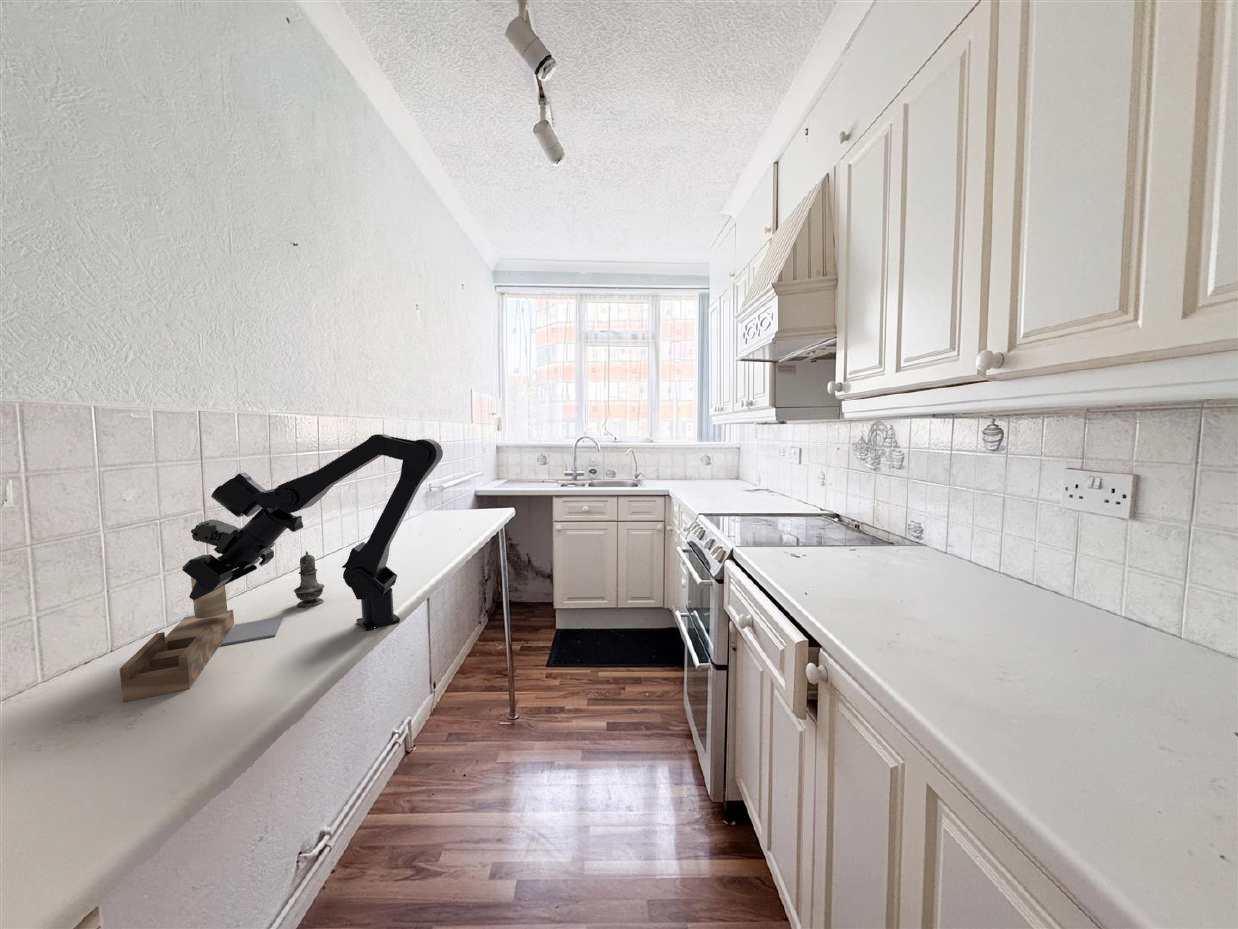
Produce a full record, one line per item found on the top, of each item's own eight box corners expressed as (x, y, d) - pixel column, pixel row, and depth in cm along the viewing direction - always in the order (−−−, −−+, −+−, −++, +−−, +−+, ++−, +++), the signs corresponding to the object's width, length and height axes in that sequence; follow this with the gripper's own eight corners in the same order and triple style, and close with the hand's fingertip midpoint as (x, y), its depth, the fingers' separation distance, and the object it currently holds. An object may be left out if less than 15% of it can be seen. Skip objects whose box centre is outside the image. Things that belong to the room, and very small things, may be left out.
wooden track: (186, 632, 95) (184, 607, 95) (234, 624, 99) (232, 600, 98) (122, 702, 70) (119, 668, 70) (189, 688, 74) (186, 656, 73)
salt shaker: (331, 599, 113) (328, 548, 112) (313, 608, 107) (309, 554, 106) (307, 598, 113) (304, 547, 112) (288, 608, 107) (284, 554, 106)
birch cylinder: (228, 613, 93) (225, 572, 93) (195, 620, 90) (191, 578, 89) (225, 607, 97) (222, 567, 96) (193, 614, 93) (189, 573, 93)
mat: (234, 626, 98) (234, 624, 98) (283, 618, 101) (282, 616, 101) (221, 645, 89) (221, 643, 89) (275, 636, 92) (274, 634, 92)
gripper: (252, 498, 101) (198, 554, 101) (189, 513, 83) (122, 582, 82) (297, 533, 103) (244, 588, 102) (245, 555, 85) (179, 623, 84)
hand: (201, 594), depth 93 cm, fingers closed on birch cylinder, 5 cm apart
